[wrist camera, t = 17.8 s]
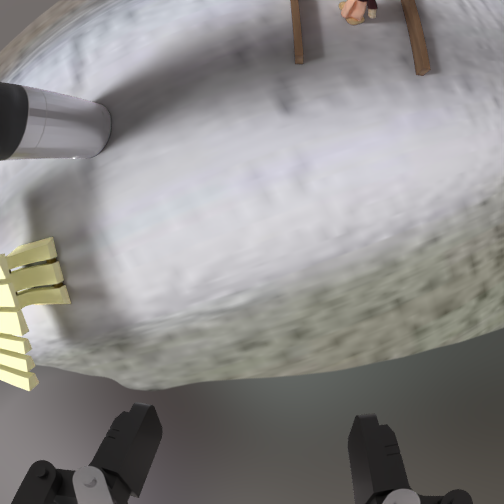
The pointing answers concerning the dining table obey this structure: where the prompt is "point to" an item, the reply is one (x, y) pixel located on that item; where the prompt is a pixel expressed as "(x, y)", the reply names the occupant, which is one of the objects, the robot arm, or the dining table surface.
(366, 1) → the grandmother figurine
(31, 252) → the slatted curved stool
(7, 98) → the robot arm
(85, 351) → the dining table surface
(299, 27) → the box
